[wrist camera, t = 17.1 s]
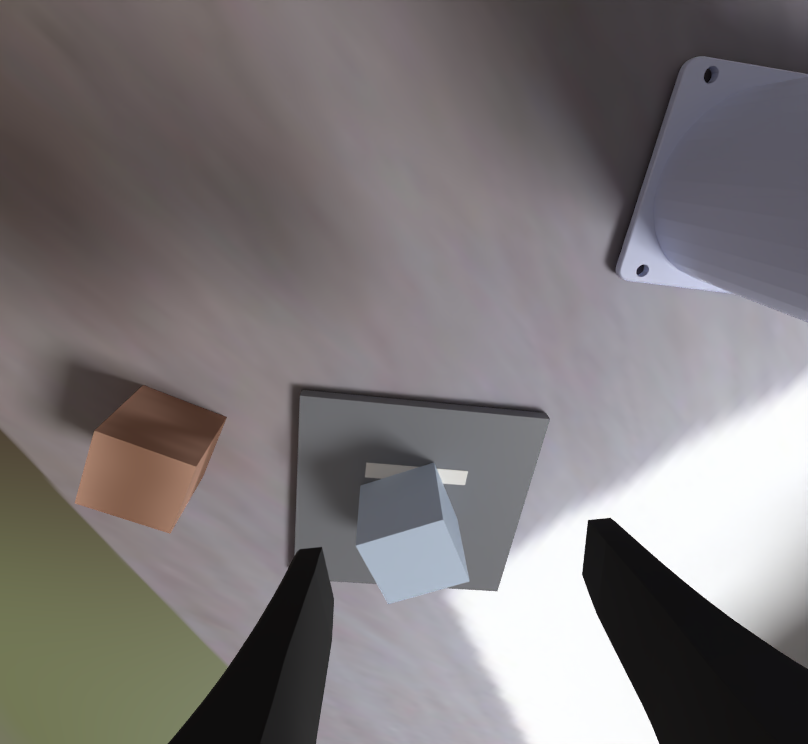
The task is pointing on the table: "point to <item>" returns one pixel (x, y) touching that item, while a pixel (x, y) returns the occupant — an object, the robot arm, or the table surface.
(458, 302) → the table surface
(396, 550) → the pale blue cube
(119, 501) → the terracotta block
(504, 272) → the table surface
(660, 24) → the table surface
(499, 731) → the table surface
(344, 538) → the board
